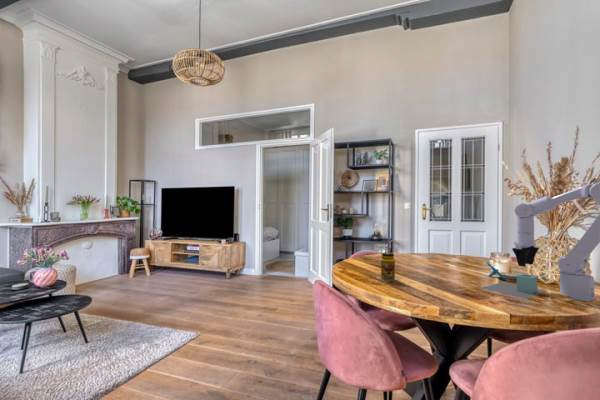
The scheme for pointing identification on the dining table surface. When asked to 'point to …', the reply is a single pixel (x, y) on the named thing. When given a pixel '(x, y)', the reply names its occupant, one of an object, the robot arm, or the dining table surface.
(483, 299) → the dining table surface
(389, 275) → the condiment
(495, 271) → the teal bent piece
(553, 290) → the dining table surface
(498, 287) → the post board
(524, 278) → the teal block
